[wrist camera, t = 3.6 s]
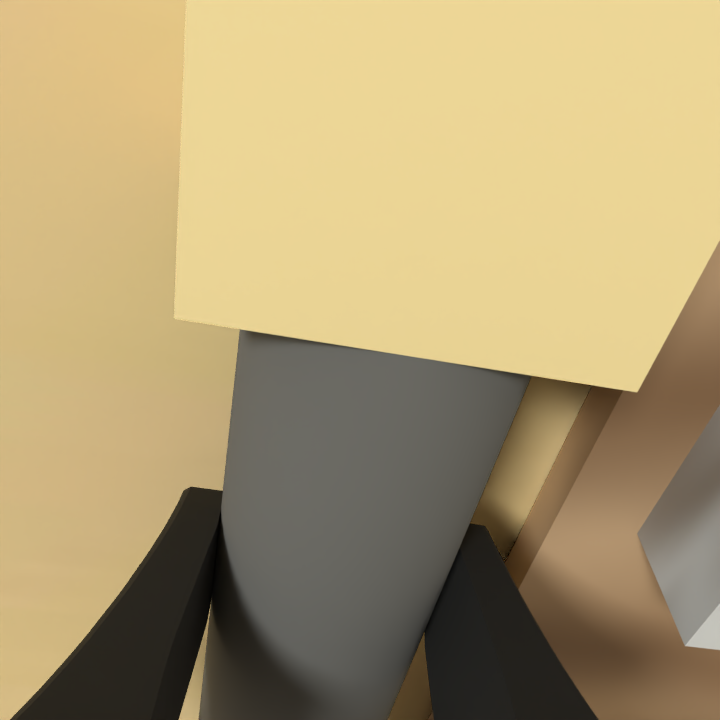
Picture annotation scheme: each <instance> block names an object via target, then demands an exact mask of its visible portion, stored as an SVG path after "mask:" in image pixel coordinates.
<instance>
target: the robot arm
mask: <svg viewBox="0 0 720 720" xmlns="http://www.w3.org/2000/svg"><path fill="white" fill-rule="evenodd" d="M222 495H223V491H219V490H212V489H204V488H197V487H189V488H188V489H186V490H184V491H183V493H182V496H181V498H180V500H179V502H178V504H177V506H176V508H175V510H174V511H173V513H172V515H171V517H170V519H169V520H168V522H167V524H166V525H165V527H164V529H163V530H162V532H161V534H160V535H159V537H158V538H157V540H156V542H155V543H154V545H153V546H152V548H151V549H150V551H149V552H148V554H147V555H146V557H145V558H144V560H143V561H142V563H141V564H140V565H139V567H138V568H137V570H136V571H135V573H134V574H133V575H132V577H131V578H130V580H129V581H128V583H127V584H126V585H125V587H124V588H123V590H122V591H121V592H120V594H119V595H118V596H117V597H116V599H115V600H114V601H113V603H112V604H111V605H110V606H109V608H108V609H107V610H106V611H105V613H104V614H103V615H102V617H101V618H100V619H99V620H98V622H97V623H96V624H95V625H94V627H93V628H92V629H91V631H90V632H89V633H88V634H87V636H86V637H85V638H84V639H83V640H82V642H81V643H80V644H79V645H78V646H77V647H76V649H75V650H74V651H73V652H72V653H71V655H70V656H69V657H68V658H67V659H66V660H65V661H64V663H63V664H62V665H61V666H60V667H59V668H58V669H57V670H56V672H55V673H54V674H53V675H52V676H51V677H50V678H49V679H48V680H47V681H46V683H45V684H44V685H43V686H42V687H41V688H40V689H39V690H38V691H37V692H36V693H35V694H34V696H33V697H32V698H31V699H30V700H29V701H28V702H27V703H26V704H25V705H24V706H23V707H22V708H21V709H20V710H19V711H18V712H17V713H16V714H15V715H14V716H13V717H12V718H11V719H10V720H178V719H179V716H180V713H181V709H182V706H183V702H184V699H185V696H186V692H187V689H188V685H189V682H190V679H191V675H192V672H193V668H194V665H195V661H196V658H197V655H198V651H199V648H200V644H201V641H202V637H203V634H204V631H205V627H206V624H207V619H208V614H209V609H210V604H211V598H212V591H213V582H214V572H215V563H216V553H217V544H218V534H219V525H220V515H221V504H222ZM424 632H425V653H426V661H427V669H428V678H429V686H430V694H431V702H432V709H433V717H434V720H599V719H598V718H597V716H596V715H595V714H594V712H593V711H592V709H591V708H590V706H589V705H588V703H587V702H586V701H585V699H584V698H583V696H582V695H581V693H580V692H579V690H578V689H577V687H576V685H575V684H574V682H573V681H572V679H571V678H570V676H569V675H568V673H567V672H566V670H565V669H564V667H563V665H562V664H561V662H560V661H559V659H558V657H557V656H556V654H555V652H554V651H553V649H552V648H551V646H550V644H549V643H548V641H547V639H546V637H545V636H544V634H543V632H542V631H541V629H540V627H539V625H538V624H537V622H536V620H535V619H534V617H533V615H532V613H531V612H530V610H529V608H528V606H527V605H526V603H525V601H524V599H523V597H522V595H521V594H520V592H519V590H518V588H517V586H516V584H515V582H514V581H513V579H512V577H511V575H510V573H509V571H508V569H507V567H506V565H505V563H504V561H503V560H502V558H501V556H500V554H499V552H498V550H497V548H496V546H495V544H494V542H493V540H492V538H491V536H490V534H489V532H488V530H487V529H486V527H485V526H483V525H476V524H469V526H468V529H467V531H466V533H465V536H464V538H463V541H462V543H461V545H460V548H459V550H458V552H457V555H456V557H455V560H454V562H453V564H452V567H451V569H450V572H449V574H448V576H447V579H446V581H445V583H444V586H443V588H442V591H441V593H440V595H439V598H438V600H437V602H436V605H435V607H434V610H433V612H432V614H431V617H430V619H429V622H428V624H427V626H426V629H425V631H424Z"/></svg>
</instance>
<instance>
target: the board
mask: <svg viewBox="0 0 720 720" xmlns="http://www.w3.org/2000/svg"><path fill="white" fill-rule="evenodd" d="M505 565H506V567H507V569H508V571H509V573H510V575H511V577H512V579H513V581H514V582H515V584H516V586H517V588H518V590H519V592H520V594H521V595H522V597H523V599H524V601H525V603H526V605H527V606H528V608H529V610H530V612H531V613H532V615H533V617H534V619H535V620H536V622H537V624H538V625H539V627H540V629H541V631H542V632H543V634H544V636H545V637H546V639H547V641H548V643H549V644H550V646H551V648H552V649H553V651H554V652H555V654H556V656H557V657H558V659H559V661H560V662H561V664H562V665H563V667H564V669H565V670H566V672H567V673H568V675H569V676H570V678H571V679H572V681H573V682H574V684H575V685H576V687H577V689H578V690H579V692H580V693H581V695H582V696H583V698H584V699H585V701H586V702H587V703H588V705H589V706H590V708H591V709H592V711H593V712H594V714H595V715H596V716H597V718H598V719H599V720H720V241H719V242H718V244H717V246H716V248H715V250H714V252H713V254H712V255H711V257H710V259H709V261H708V263H707V265H706V267H705V268H704V270H703V272H702V274H701V276H700V278H699V279H698V281H697V283H696V285H695V287H694V289H693V291H692V292H691V294H690V296H689V298H688V300H687V302H686V303H685V305H684V307H683V309H682V311H681V313H680V315H679V316H678V318H677V320H676V322H675V324H674V326H673V327H672V329H671V331H670V333H669V335H668V337H667V339H666V340H665V342H664V344H663V346H662V348H661V350H660V351H659V353H658V355H657V357H656V359H655V361H654V363H653V364H652V366H651V368H650V370H649V372H648V374H647V375H646V377H645V379H644V381H643V383H642V385H641V387H640V388H639V390H638V392H632V391H625V390H619V389H613V388H606V387H600V386H594V385H592V387H591V389H590V391H589V393H588V395H587V397H586V399H585V401H584V403H583V405H582V407H581V410H580V412H579V414H578V416H577V418H576V420H575V422H574V424H573V426H572V428H571V430H570V432H569V434H568V436H567V438H566V440H565V442H564V444H563V446H562V448H561V450H560V452H559V454H558V456H557V458H556V460H555V462H554V464H553V466H552V469H551V471H550V473H549V475H548V477H547V479H546V481H545V483H544V485H543V487H542V489H541V491H540V493H539V495H538V497H537V499H536V501H535V503H534V505H533V507H532V509H531V511H530V513H529V515H528V517H527V519H526V521H525V523H524V525H523V528H522V530H521V532H520V534H519V536H518V538H517V540H516V542H515V544H514V546H513V548H512V550H511V552H510V554H509V556H508V558H507V560H506V562H505ZM428 720H434V717H433V711H432V713H431V715H430V717H429V719H428Z"/></svg>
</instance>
